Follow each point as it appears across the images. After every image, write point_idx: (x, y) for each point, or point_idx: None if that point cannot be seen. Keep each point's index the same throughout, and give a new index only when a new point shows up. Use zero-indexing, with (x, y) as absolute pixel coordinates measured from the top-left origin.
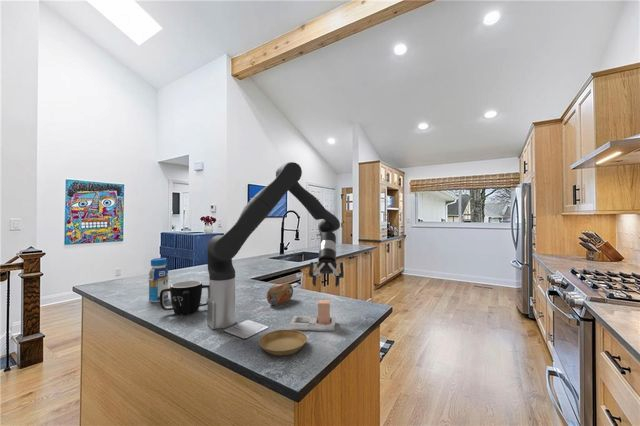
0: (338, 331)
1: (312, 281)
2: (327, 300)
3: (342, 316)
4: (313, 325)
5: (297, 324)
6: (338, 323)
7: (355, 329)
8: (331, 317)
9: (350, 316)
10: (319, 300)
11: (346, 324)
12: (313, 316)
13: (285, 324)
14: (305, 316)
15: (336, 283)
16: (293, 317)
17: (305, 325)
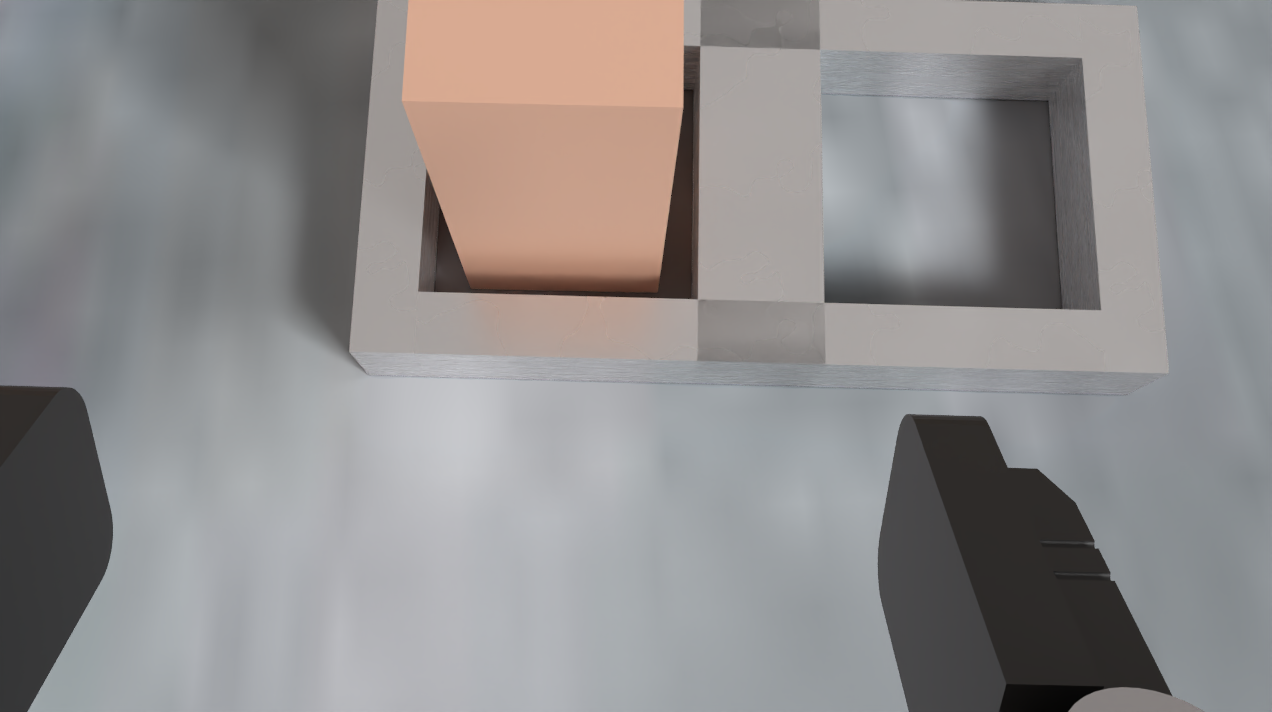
0: (336, 25)
1: (1081, 516)
2: (461, 61)
3: (212, 686)
4: (734, 2)
5: (1003, 5)
6: (317, 329)
7: (56, 105)
8: (427, 320)
9: (46, 696)
10: (668, 56)
11: (178, 294)
12: (781, 352)
13: (1228, 242)
14: (937, 348)
15: (12, 396)
16: (1153, 285)
17: (866, 6)
